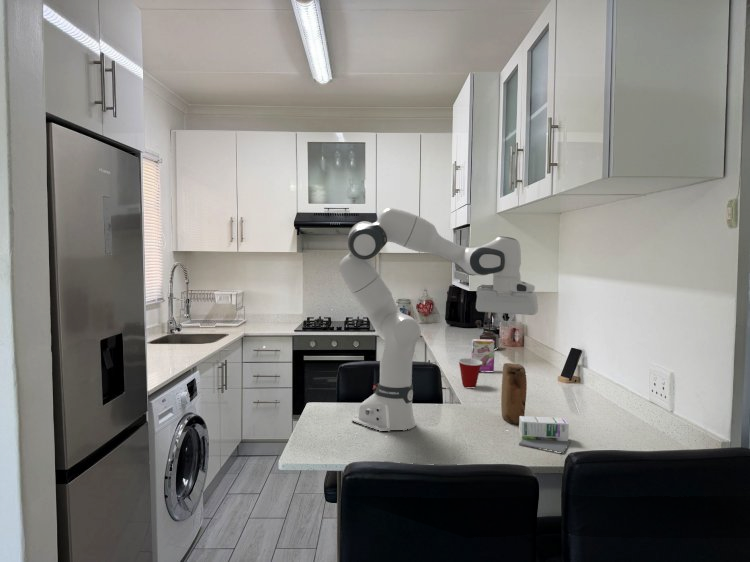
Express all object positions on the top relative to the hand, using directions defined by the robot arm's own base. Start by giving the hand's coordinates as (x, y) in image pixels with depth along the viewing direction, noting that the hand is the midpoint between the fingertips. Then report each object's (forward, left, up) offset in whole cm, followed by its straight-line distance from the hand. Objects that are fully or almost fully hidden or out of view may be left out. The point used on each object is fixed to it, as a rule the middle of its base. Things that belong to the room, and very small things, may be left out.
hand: (505, 326), depth 165 cm
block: (0, +12, -35) cm, 37 cm away
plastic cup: (-30, +47, -35) cm, 66 cm away
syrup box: (+7, -4, -32) cm, 33 cm away
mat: (+15, -5, -35) cm, 38 cm away
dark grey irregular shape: (-57, +144, -35) cm, 159 cm away
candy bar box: (-36, +80, -35) cm, 95 cm away
